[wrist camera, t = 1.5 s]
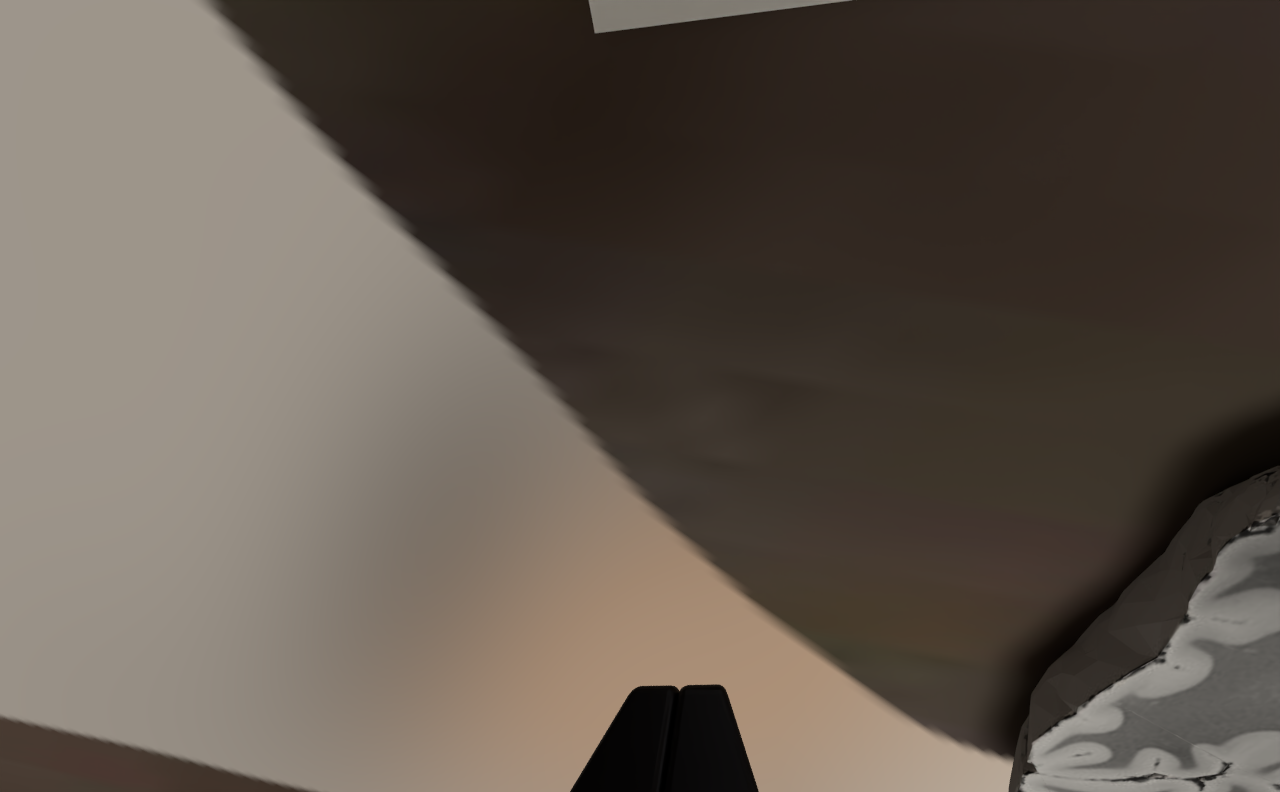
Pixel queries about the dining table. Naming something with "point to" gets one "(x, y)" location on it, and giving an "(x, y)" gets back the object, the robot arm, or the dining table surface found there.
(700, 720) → the robot arm
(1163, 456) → the dining table surface
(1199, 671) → the brain slice
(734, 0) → the grey mat
